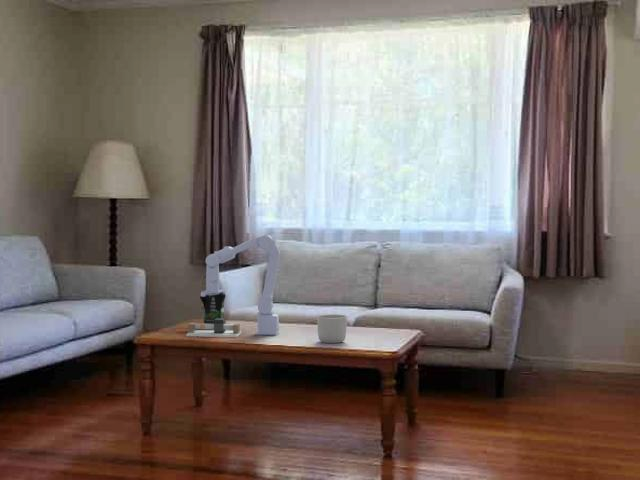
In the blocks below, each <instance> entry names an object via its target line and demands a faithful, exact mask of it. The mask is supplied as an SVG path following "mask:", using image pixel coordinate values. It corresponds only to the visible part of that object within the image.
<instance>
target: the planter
mask: <svg viewBox="0 0 640 480" xmlns="http://www.w3.org/2000/svg"><path fill="white" fill-rule="evenodd" d="M316 317H317V319H316V322H317V335H318V340H319V341H320V343H325V344H339V343H340V342H341V343H343V342H344V341H346V337H347V336H346V335H347V323H348V322H347V321H348V320H347V319H348V317H347V315H345V314H336V313H335V314H334V313H333V314H331V313H330V314H328V313H327V314H319V315H317V316H316ZM341 343H340V344H341Z"/></svg>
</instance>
